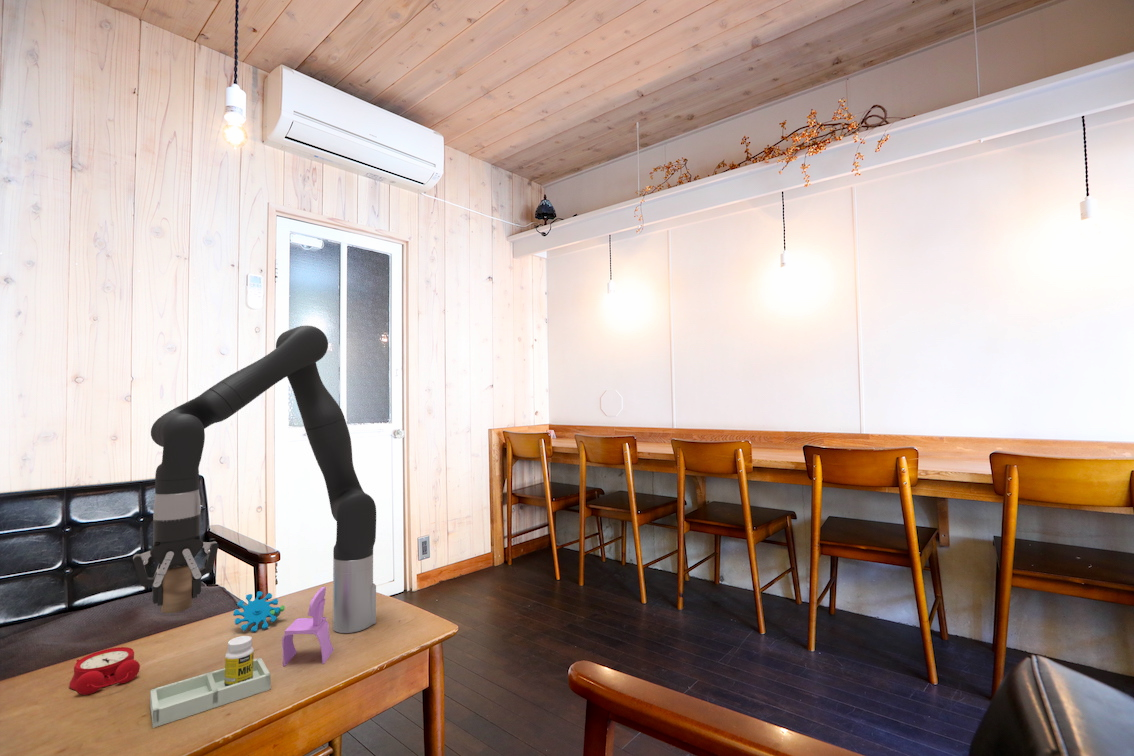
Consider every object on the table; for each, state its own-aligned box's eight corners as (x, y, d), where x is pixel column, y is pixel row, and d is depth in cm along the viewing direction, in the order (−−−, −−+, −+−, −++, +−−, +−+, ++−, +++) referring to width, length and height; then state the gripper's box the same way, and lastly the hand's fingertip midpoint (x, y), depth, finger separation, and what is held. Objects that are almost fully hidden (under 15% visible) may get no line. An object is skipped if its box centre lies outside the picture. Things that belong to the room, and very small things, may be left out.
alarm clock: (131, 641, 116) (146, 646, 106) (131, 671, 115) (147, 679, 105) (66, 659, 108) (76, 666, 98) (66, 692, 107) (76, 702, 97)
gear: (229, 631, 124) (237, 590, 131) (228, 642, 128) (236, 602, 135) (282, 627, 130) (287, 589, 136) (279, 638, 133) (284, 600, 140)
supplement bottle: (238, 692, 100) (239, 647, 100) (218, 689, 101) (219, 644, 101) (258, 678, 105) (259, 635, 105) (239, 676, 106) (239, 633, 106)
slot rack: (260, 671, 109) (260, 657, 109) (270, 689, 102) (270, 674, 102) (150, 705, 97) (150, 689, 98) (152, 727, 91) (153, 711, 91)
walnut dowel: (191, 600, 108) (191, 561, 108) (194, 608, 104) (194, 567, 104) (160, 607, 104) (160, 566, 104) (162, 615, 100) (162, 573, 101)
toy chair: (294, 650, 118) (295, 582, 119) (335, 647, 119) (335, 580, 120) (278, 669, 110) (279, 596, 111) (322, 666, 111) (322, 594, 112)
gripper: (217, 505, 112) (217, 586, 112) (129, 517, 103) (129, 605, 102) (223, 511, 106) (223, 596, 106) (131, 523, 97) (130, 617, 96)
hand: (176, 600), depth 104 cm, fingers closed on walnut dowel, 5 cm apart
